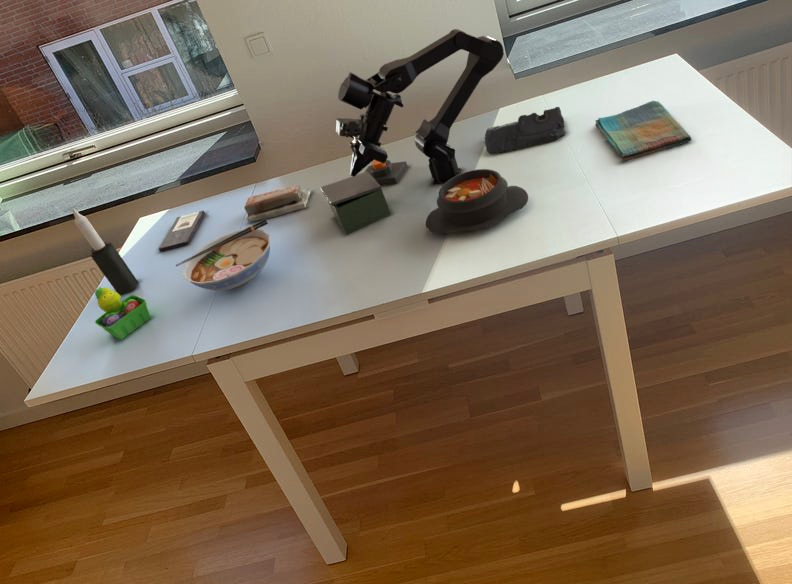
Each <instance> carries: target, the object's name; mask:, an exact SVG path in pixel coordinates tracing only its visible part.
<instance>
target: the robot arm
mask: <svg viewBox="0 0 792 584" xmlns="http://www.w3.org/2000/svg"><path fill="white" fill-rule="evenodd" d="M461 50H462V51H465V52H468V53H467V59H466V66H465V67H464V70H463V72H462V73H461V75H460V76H459V77H458V79H457V81H456V82H455V84H454V86H453V88H452V89H451V91H450V92H449V94H448V95H447V97H446V98H445V100H444V102H443V103H442V106H441V107H440V108H439V110H438V111H437V113H436V115H435V116H433V118H432V119H430V120H429V121H428V120H426V119H423V120H422V122H421V124H420V126H419V128H418V129H417V130H416V131H414V133H415V138H414V145H415V146H416V148H417V149H418V150H419V151H420V152H421V153H422V154H423V155H425V156H426V157H427V158H428V163H429V164H428V169H429V171H430V175H431V179H433V180H432V184H433V185H436V184H445V183H446V182H447V181H448V180H450V179H451V178H453V177H455V176H457V175H459V174H461V172H462V168H461V167H459V166H458V162H457V159H456V149H455V148H454V147H453V146H451V145H450V144H449V143H448V142H449V137H450V131H451V128H452V126H453V125H454V123H455V121H456V120H457V118H458V117H459V115H460V114H461V112H462V111H463V109H464V107H465V105H466V104H467V103H468V101H469V99H470V98H471V96H472V95H473V93H474V91H475V90H476V88H477V87H478V85H479V83H480V82H481V80H482V79H483V78H484V77H485V76H487V75H488V74H489V73H491V72H492V71H493V70H494V69H495V68H496V67H497V66H498V65H499V63H500V62H501V61H502V60H503V57H504V55H505V54H504V53H505V52H504V47H503V44H502V43H501V42H500V41H499V40H497V39H494V38H492V37H490V36H487V35H481V36H478V37H476V36H474V35H471V34H469V33H467V32H465V31H463V30H460V29H458V28H454V29H452V30H450V31H449V32H448V33H447V34H445V35H444V36H442V37H440V38H438V39H437V40H435V41H433V42H432V43H430V44H428V45H426V46H425V47H423V48H422V49H420V50H418V51H417V52H415V53H413V54H412V55H410V56H407V57H404V58H399V59H395V60H392V61H389V62H387V63H384V64H383V65H382V66H380V68H379V69H378V71H377V72H376V73H375V74H373V75H371V76H370V77H368V78H367V79H365V78H362V77H360V76H358V75H357V74H355V73H353V72H350V71H349V72H348V75H347V77H345V78H344V80H343V82H342V83H341V84H340V86H339V89H338V94H337V99H338V101H340V102H342V103H345V104H347V105H349V106H352V107H354V108H356V109H358V110H363V109H364V108H365V112H364V113H361V114H360V115H359V117H358V118H346V117H345V118H343V117H341V118H340V117H337V118H336V121H335V122H336V123H335V132H336V133H337V134H338V136H339V137H344V138H351V139H352V140H351V141H348V146H349V147H350V149H351V151H352V152H351V162H350V169H349V175H350V177H354V176H356V175H358V174H360V172H361V171H363V170H364V168H366V167H368V166H369V165H371V164H372V162H373V161H375V160H376V161H379V162H381V163H383V164H385V162H386V160H388V158H389V156H388V153H387V151H386V150H385V149H384V148H383V147H381V145H382V143H381V141H380V140H381V138H382V135H383V134H384V132H388V129H389V127H388V126H387V124H388V121H389V120H390V117H391V115H392V112H393V110H394V108H395V105H396V106H397V107H400V108H403V107H404V106H405V105H404V103H403V100H402V96H401V95H400V93H403V92H404V91H405V90H406V89H407V88H409V87H410V86H411V85H412V84H414V81H415V80H416V79H417V78H418V77H419V75H421V74H422V73H423V72H425V71H427V70H429V69H431V68H432V67H434V66H435V65H437V64H439V63H440V62H442V61H444V60H445V59H447V58H448V57H449V58H450V56H452V55H453V54H455V53H457V52H459V51H461ZM389 92H390V93H389Z"/></svg>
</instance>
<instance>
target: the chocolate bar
mask: <svg viewBox="0 0 792 584" xmlns="http://www.w3.org/2000/svg"><path fill="white" fill-rule="evenodd" d="M205 214H206V212H205V210H200V211H196V212H192V213H189V214H185V215H181V216H177V217H176V218H175V220H174V222H173V223H172V225H171V227H170V228H169V230H168V232H167V234H166V235H165V237H164V238H163V240H162V242H161V243H160V245H159V247H158V251H159V252H163V251H167V250H172V249H176V248H179V247H183V246H187V245H189V244H190V242H191V240H192V238H193V236H194V234H195V233H196V231H197V229H198V227H199V225H200V223H201V221H202V220H203V218H204V217H205Z"/></svg>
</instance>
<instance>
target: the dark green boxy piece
mask: <svg viewBox="0 0 792 584" xmlns="http://www.w3.org/2000/svg"><path fill="white" fill-rule="evenodd" d="M327 202H328V204H329V207H330V209H331V211H332V215H333V216H334V218H335V220H336V222H337V223H338V224H339V226H340V228H341V229H342V230H343V232H344V233H345V235H349V234H351V233H353V232H355V231H358V230H360V229H362V228H364V227H366V226H368V225H371V224H372V223H373V224H374V223H375V222H377V221H380V220H381V219H383V218H387V217H389V216H390V215H391V214H392V213H391V211H390V207H389V205H388V203H387V199H386V197H385V194H384V191H383V189H382V188H381V189H380V190H377V191H374V192H371V193H368V194H365V195H362V196H359V197H356V198H353V199H350V200H347V201H344V202H341V203H338V204H336V205H333V206H331V204H330V203H329V201H328V200H327Z"/></svg>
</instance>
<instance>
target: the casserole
mask: <svg viewBox="0 0 792 584" xmlns="http://www.w3.org/2000/svg"><path fill="white" fill-rule="evenodd" d="M528 201H529V193H528V192H527V190H526V189H524V188H523V187H521V186H517V185H508V181H507V180H506V179H505V178H504V177H503V176H501V174H500V173H499V172H498V171H496V170H493V169H489V168H481V169H480V168H479V169H473V170H468V171H464V172H462V173H460V174H459V175H457V176H455V177H453V178H451V179H450V180H448V181H447V182H446V183H443V184H442V185H441V187H440V188H439V190H438V196H437V199H436V206H437V208H434V209H433V210H432V211H430V213H429V214H428V215H427V217H426V219H425V227H426V229H427V230H428V231H429V232H430V233H432V234H438V235H441V234H449V233H460V232H462V233H463V232H464V233H465V232H472V231H473V232H474V231H477V230H482V229H485V228H487V227H490V226H493V225H494V224H497V223H498V222H500V221H501V220H503V219H504V218H506V217H507V216H510V215H512V214H513V213H515V212H517V211H519V210H521V209H523V208H524V207H525V206H526V205H527V203H528Z"/></svg>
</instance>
